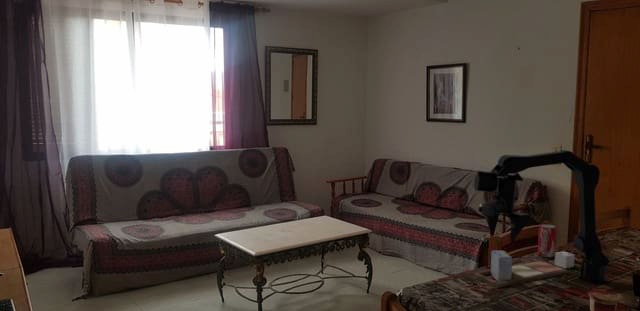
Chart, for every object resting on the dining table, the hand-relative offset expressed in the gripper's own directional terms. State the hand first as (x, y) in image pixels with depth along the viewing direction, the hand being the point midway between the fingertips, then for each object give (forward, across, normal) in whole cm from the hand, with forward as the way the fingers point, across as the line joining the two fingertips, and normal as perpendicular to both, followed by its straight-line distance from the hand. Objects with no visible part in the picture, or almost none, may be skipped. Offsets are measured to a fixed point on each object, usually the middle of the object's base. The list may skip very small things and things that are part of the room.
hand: (501, 238), depth 164 cm
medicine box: (+14, +1, 0) cm, 14 cm away
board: (+13, +1, +9) cm, 16 cm away
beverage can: (+13, -11, +35) cm, 39 cm away
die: (+12, 0, +32) cm, 34 cm away
